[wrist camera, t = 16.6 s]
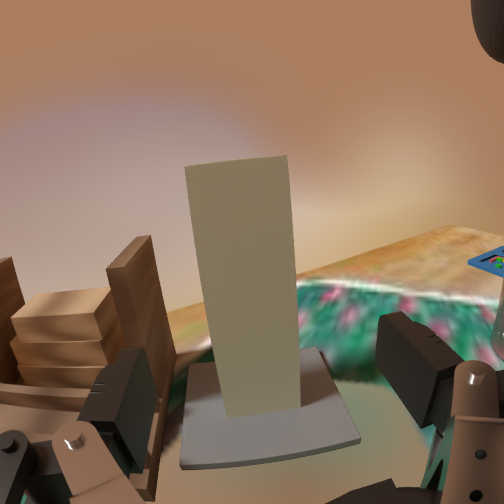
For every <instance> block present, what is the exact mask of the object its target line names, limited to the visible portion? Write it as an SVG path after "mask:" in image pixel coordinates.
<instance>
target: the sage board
mask: <svg viewBox="0 0 504 504" xmlns="http://www.w3.org/2000/svg"><path fill="white" fill-rule="evenodd" d="M185 175H186V183H187V190H188V198H189V206H190V213H191V220H192V227H193V234H194V241H195V248H196V255H197V261H198V267H199V274H200V279H201V286H202V292H203V297H204V304H205V309H206V315H207V321H208V326H209V332H210V337H211V342H212V348H213V353H214V358H215V363H216V368H217V373H218V378H219V383H220V388H221V393H222V397H223V402H224V407H225V411H226V416H227V419H228V418H236V417H244V416H252V415H259V414H266V413H272V412H278V411H284V410H290V409H295V408H301V398H300V359H299V331H298V308H297V288H296V270H295V255H294V254H295V253H294V238H293V225H292V211H291V199H290V186H289V174H288V163H287V155H281V156H280V155H279V156H266V157H255V158H246V159H236V160H227V161H219V162H210V163H203V164H195V165H188V166H185Z"/></svg>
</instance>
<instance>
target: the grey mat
mask: <svg viewBox="0 0 504 504" xmlns="http://www.w3.org/2000/svg"><path fill="white" fill-rule="evenodd" d="M299 359H300V398H301V408H295V409H290V410H284V411H278V412H272V413H266V414H259V415H252V416H244V417H236V418H228V419H227V416H226V411H225V407H224V402H223V397H222V393H221V388H220V383H219V378H218V373H217V368H216V363H215V361H214V362H204V363H193V364H189V370H188V379H187V388H186V398H185V408H184V418H183V429H182V440H181V453H180V467H181V469H182V470H202V469H217V468H229V467H238V466H239V467H240V466H249V465H256V464H264V463H271V462H277V461H283V460H289V459H294V458H300V457H305V456H310V455H315V454H319V453H324V452H328V451H333V450H336V449H341V448H344V447H348V446H352V445H356V444H360V441H361V436H360V434H359V432H358V430H357V428H356V426H355V424H354V422H353V420H352V418H351V416H350V413H349V412H348V409H347V407H346V405H345V403H344V401H343V400H342V397H341V395H340V393H339V391H338V389H337V387H336V385H335V383H334V381H333V379H332V377H331V375H330V373H329V371H328V369H327V367H326V365H325V363H324V361H323V359H322V357H321V355H320V353H319V351H318V349H317V347H312V348H306V349H301V350H299Z"/></svg>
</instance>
